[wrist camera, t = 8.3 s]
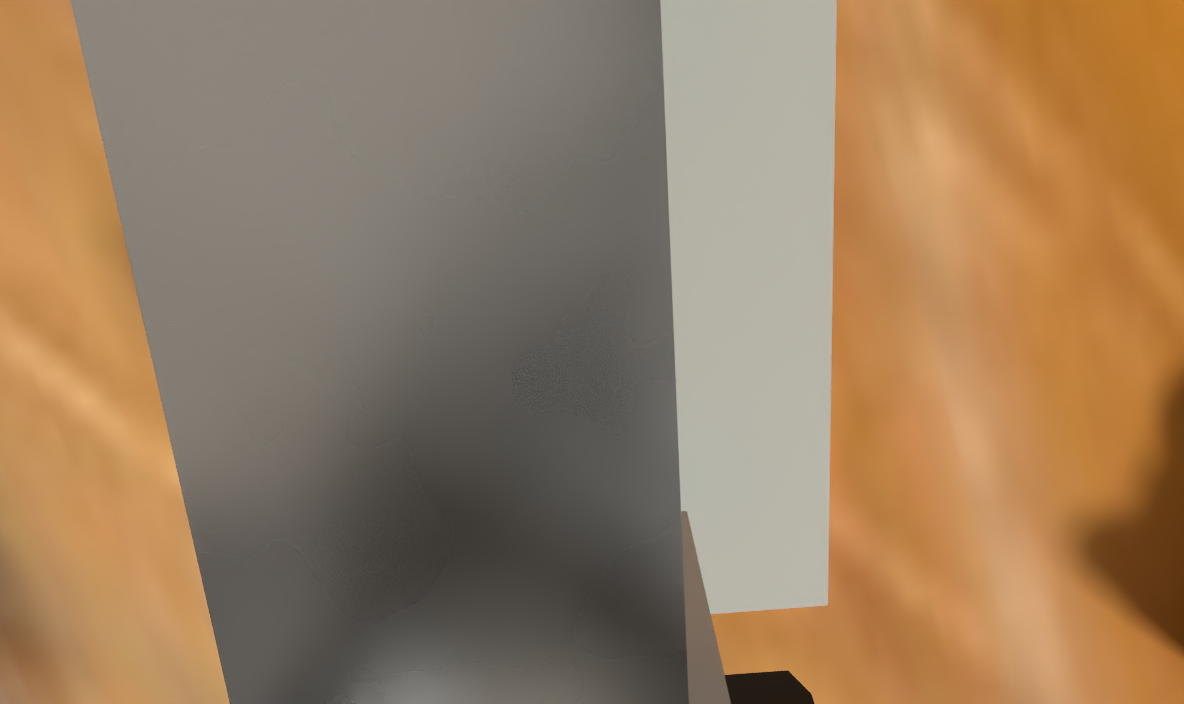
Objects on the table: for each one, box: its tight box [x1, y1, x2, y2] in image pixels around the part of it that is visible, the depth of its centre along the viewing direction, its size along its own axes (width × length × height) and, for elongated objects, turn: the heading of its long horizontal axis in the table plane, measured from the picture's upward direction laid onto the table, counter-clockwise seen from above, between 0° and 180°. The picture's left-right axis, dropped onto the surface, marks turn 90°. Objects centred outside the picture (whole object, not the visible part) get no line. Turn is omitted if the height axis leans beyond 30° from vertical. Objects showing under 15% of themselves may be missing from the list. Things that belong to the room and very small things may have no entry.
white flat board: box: [660, 0, 837, 614], centre depth 37 cm, size 30×7×1 cm, turn 4°
